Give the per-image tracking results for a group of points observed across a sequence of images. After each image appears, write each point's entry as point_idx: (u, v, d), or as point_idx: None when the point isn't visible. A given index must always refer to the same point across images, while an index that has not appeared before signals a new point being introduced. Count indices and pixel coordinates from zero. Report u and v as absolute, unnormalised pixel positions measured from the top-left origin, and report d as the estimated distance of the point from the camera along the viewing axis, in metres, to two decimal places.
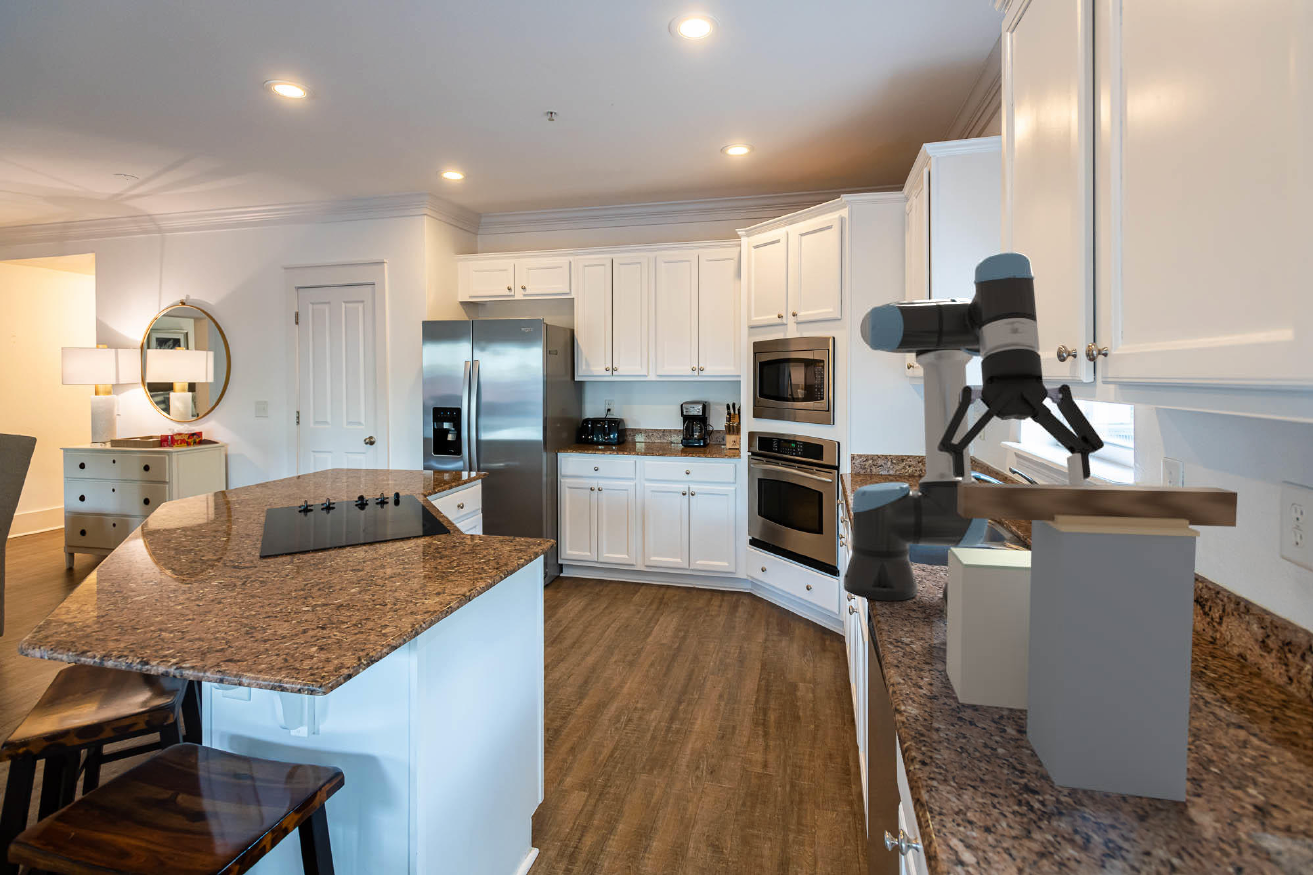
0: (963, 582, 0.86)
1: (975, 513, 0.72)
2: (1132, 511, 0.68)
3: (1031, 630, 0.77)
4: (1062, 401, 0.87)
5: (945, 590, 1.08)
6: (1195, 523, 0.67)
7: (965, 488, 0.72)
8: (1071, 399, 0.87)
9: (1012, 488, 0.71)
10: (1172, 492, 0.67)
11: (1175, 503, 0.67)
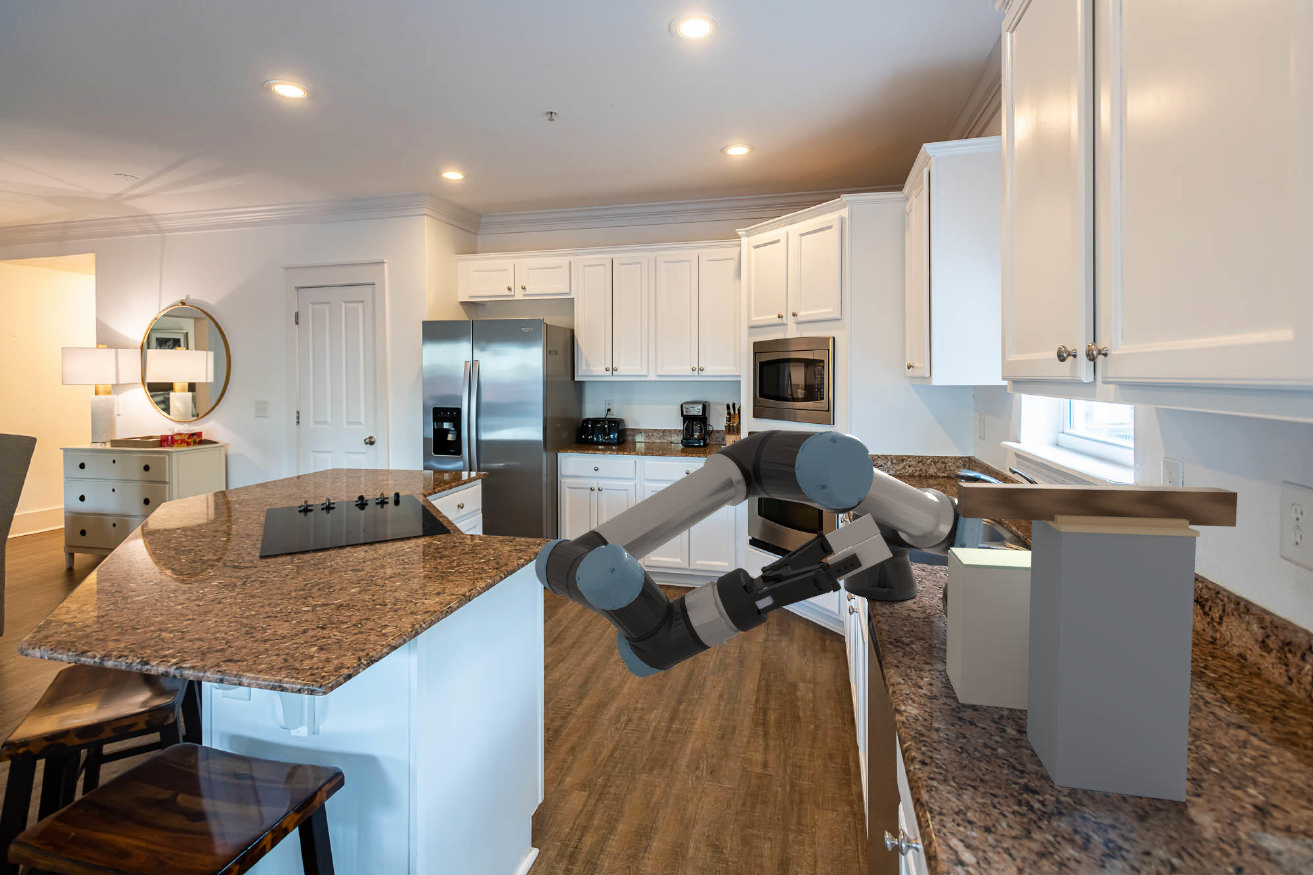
0: (963, 582, 0.86)
1: (975, 513, 0.72)
2: (1132, 511, 0.68)
3: (1031, 630, 0.77)
4: None
5: (945, 590, 1.08)
6: (1195, 523, 0.67)
7: (965, 488, 0.72)
8: (778, 607, 0.73)
9: (1012, 488, 0.71)
10: (1172, 492, 0.67)
11: (1175, 503, 0.67)
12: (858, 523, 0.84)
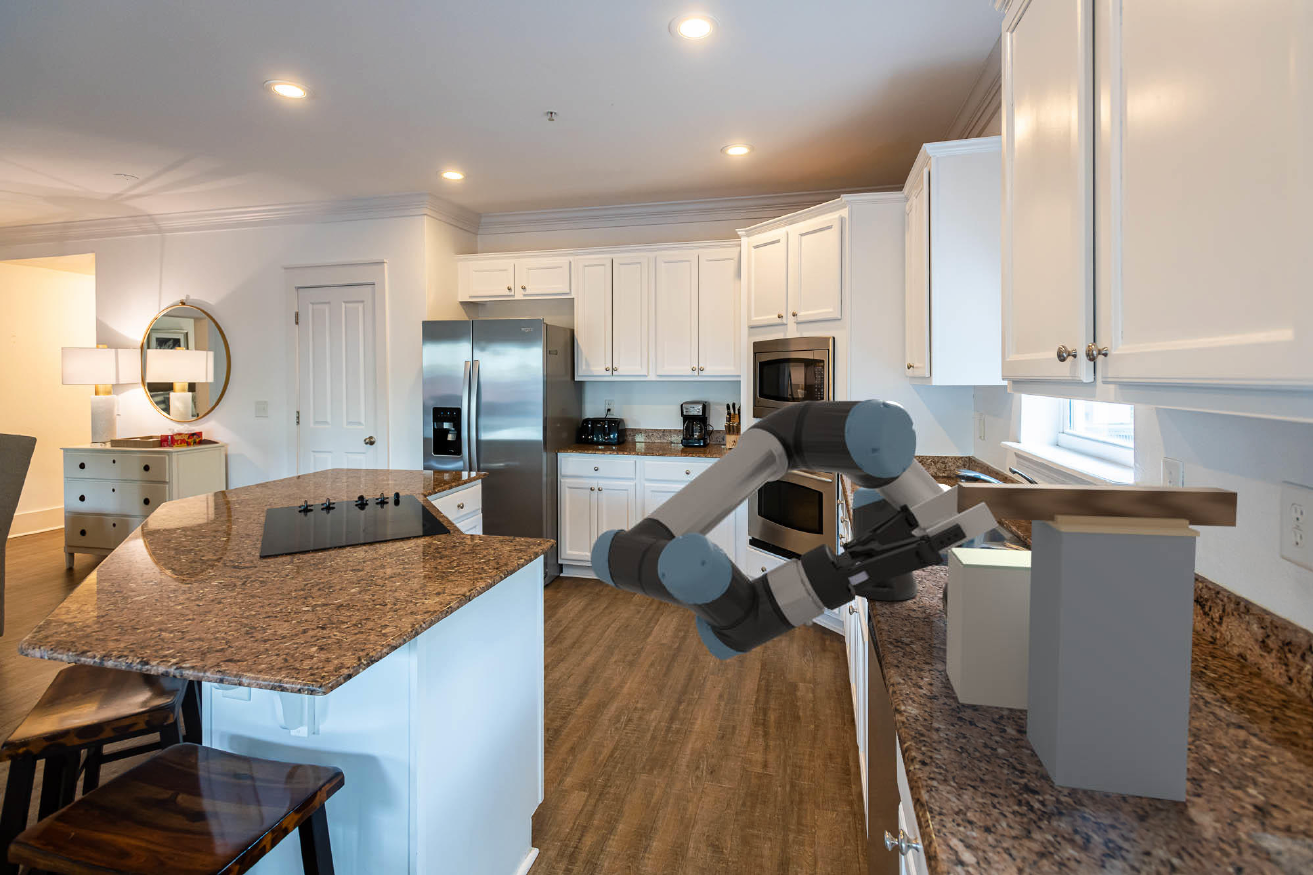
0: (963, 582, 0.86)
1: None
2: (1132, 511, 0.68)
3: (1031, 630, 0.77)
4: None
5: (945, 590, 1.08)
6: (1195, 523, 0.67)
7: (965, 488, 0.72)
8: (874, 583, 0.70)
9: (1012, 488, 0.71)
10: (1172, 492, 0.67)
11: (1175, 503, 0.67)
12: (946, 495, 0.80)
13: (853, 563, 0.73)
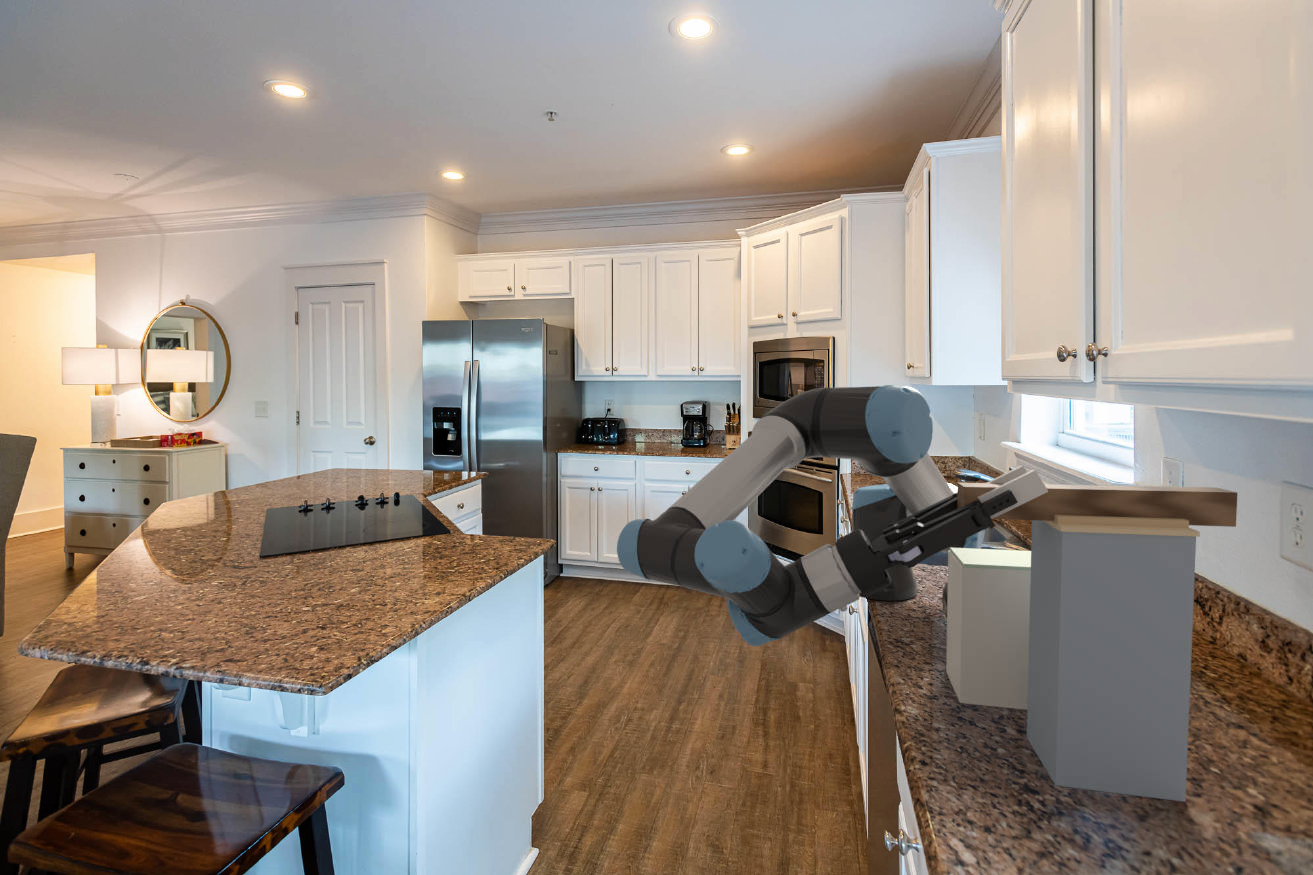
0: (963, 582, 0.86)
1: None
2: (1132, 511, 0.68)
3: (1031, 630, 0.77)
4: None
5: (945, 590, 1.08)
6: (1195, 523, 0.67)
7: (965, 488, 0.72)
8: None
9: None
10: (1172, 492, 0.67)
11: (1175, 503, 0.67)
12: (1009, 477, 0.74)
13: (894, 545, 0.73)
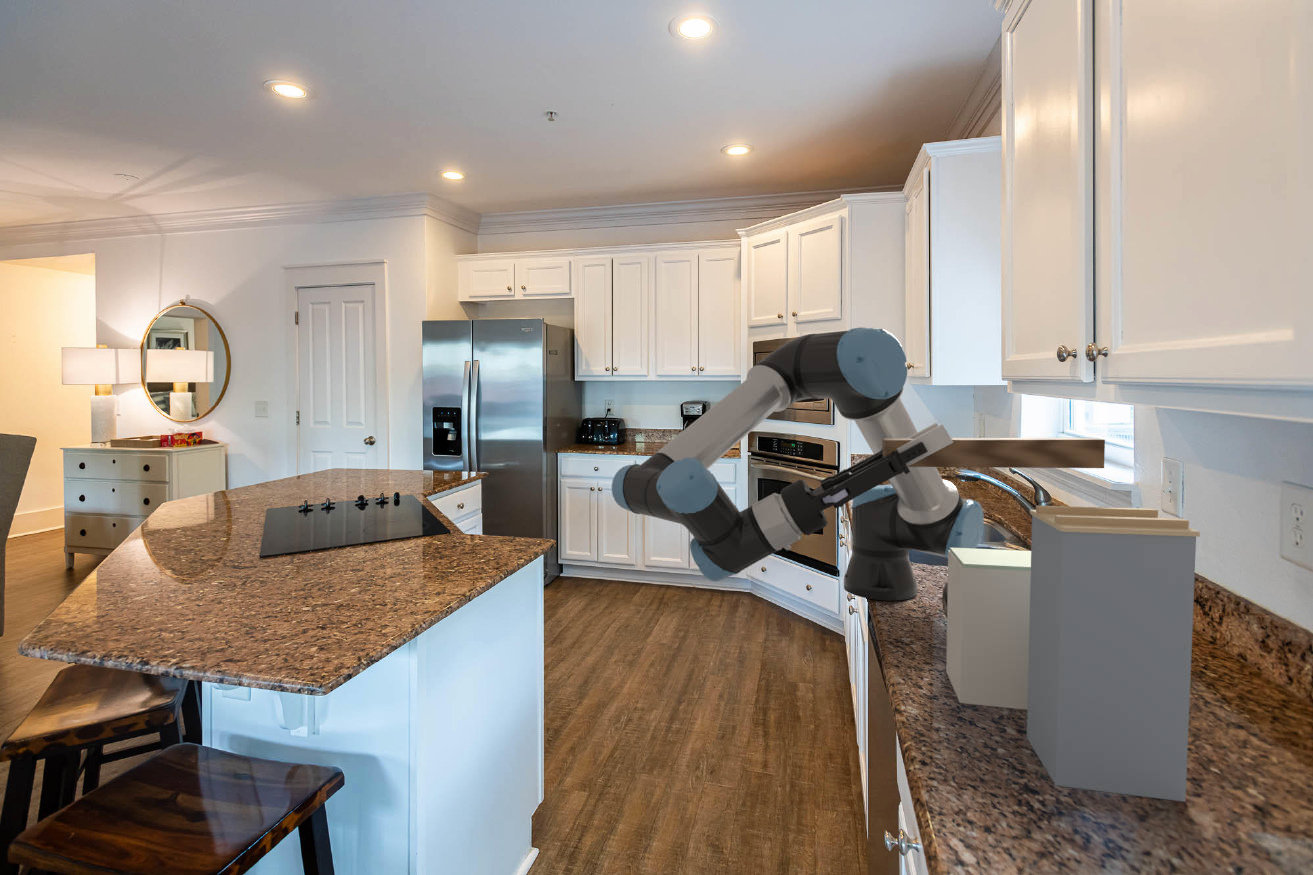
0: (963, 582, 0.86)
1: None
2: (1021, 457, 0.82)
3: (1031, 630, 0.77)
4: None
5: (945, 590, 1.08)
6: (1072, 466, 0.80)
7: (886, 441, 0.86)
8: (852, 498, 0.83)
9: None
10: (1053, 440, 0.81)
11: (1056, 450, 0.81)
12: (925, 432, 0.88)
13: (827, 490, 0.86)
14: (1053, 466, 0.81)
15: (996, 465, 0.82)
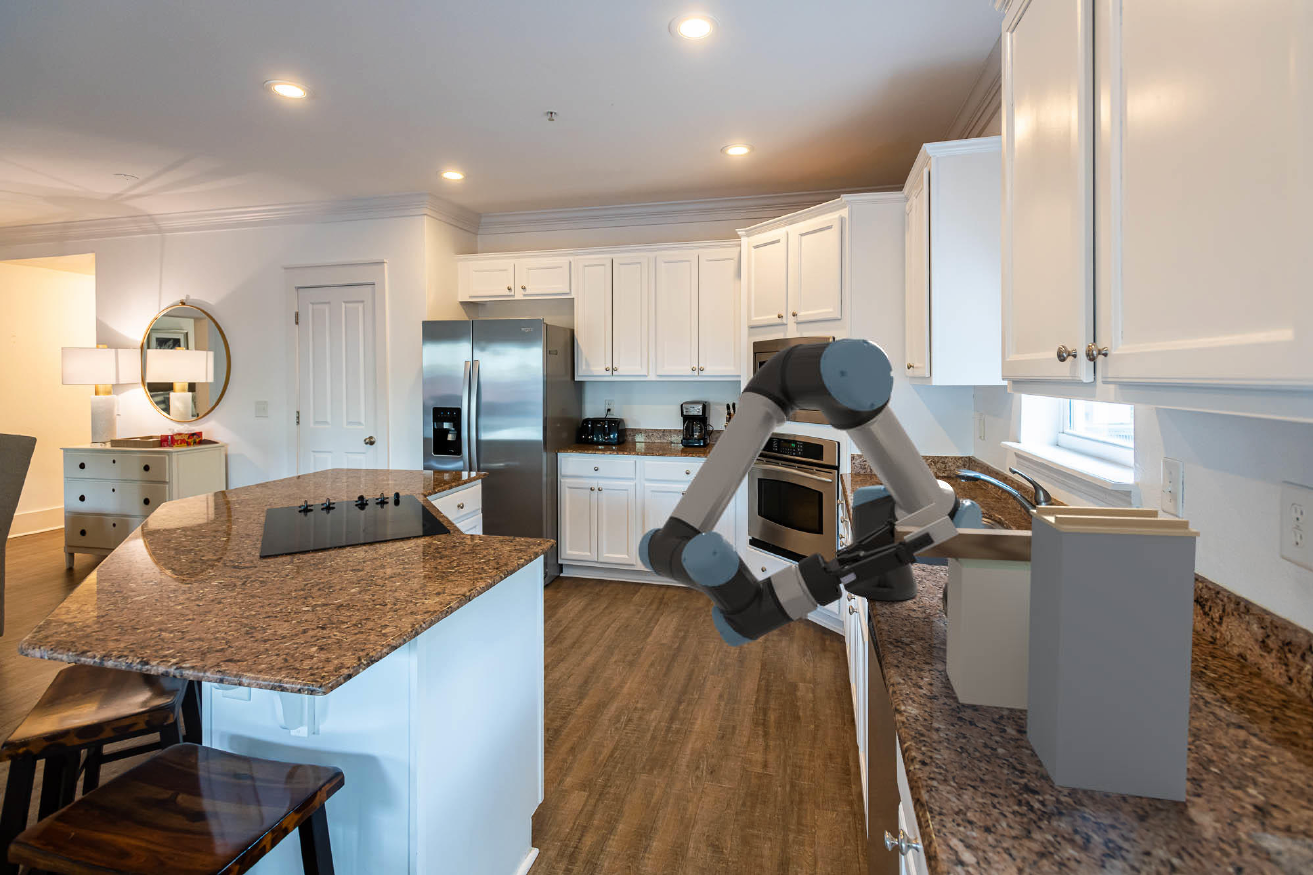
0: (963, 582, 0.86)
1: None
2: (1025, 552, 0.87)
3: (1031, 630, 0.77)
4: None
5: (945, 590, 1.08)
6: None
7: (898, 532, 0.91)
8: (860, 582, 0.88)
9: None
10: None
11: None
12: (925, 511, 0.96)
13: (841, 568, 0.91)
14: None
15: (1002, 558, 0.88)
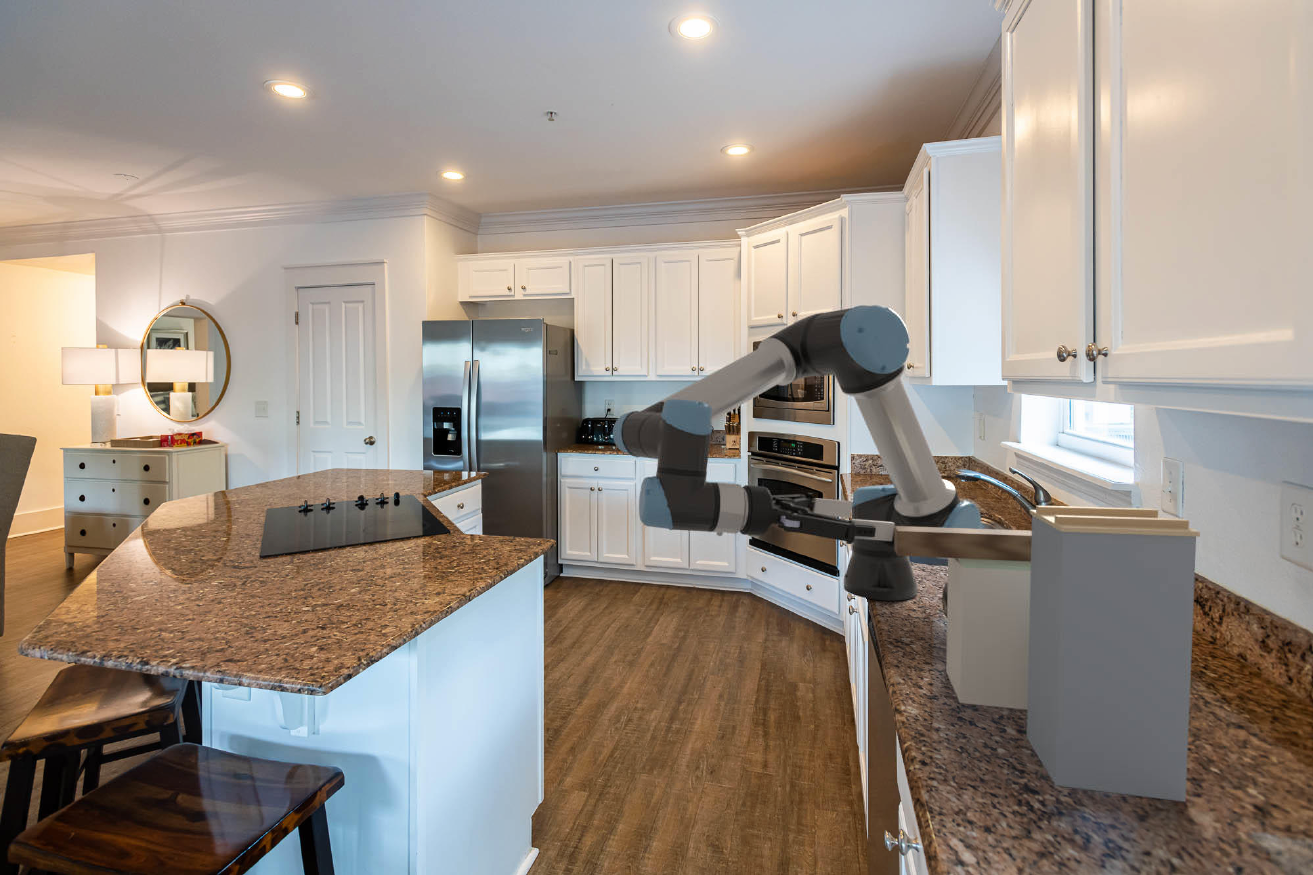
0: (963, 582, 0.86)
1: (906, 552, 0.91)
2: (1025, 552, 0.87)
3: (1031, 630, 0.77)
4: None
5: (945, 590, 1.08)
6: None
7: (898, 532, 0.91)
8: (800, 532, 0.91)
9: (934, 532, 0.90)
10: None
11: None
12: (841, 503, 1.06)
13: (787, 512, 0.93)
14: None
15: (1002, 558, 0.88)
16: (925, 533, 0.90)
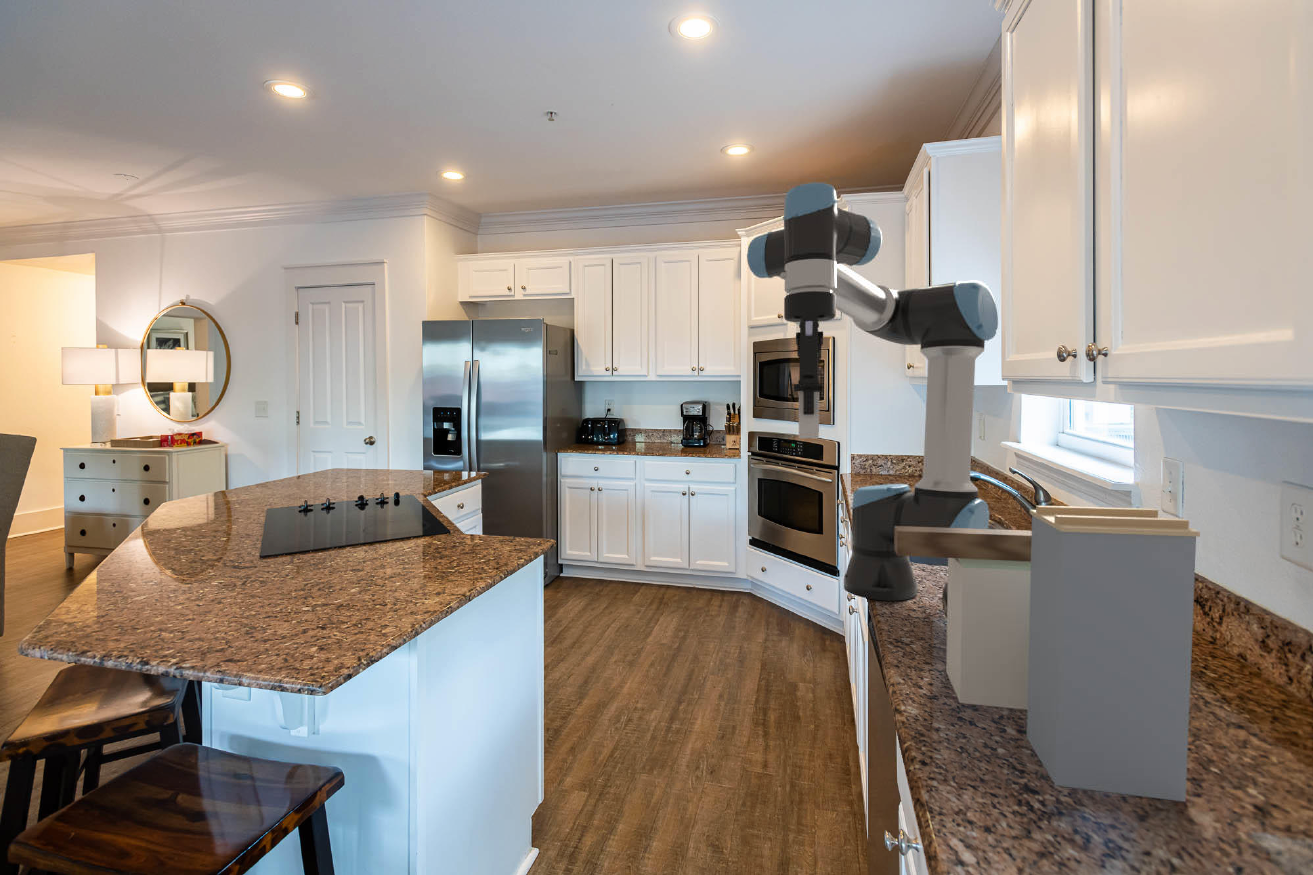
0: (963, 582, 0.86)
1: (906, 552, 0.91)
2: (1025, 552, 0.87)
3: (1031, 630, 0.77)
4: None
5: (945, 590, 1.08)
6: None
7: (898, 532, 0.91)
8: (800, 337, 0.89)
9: (934, 532, 0.90)
10: None
11: None
12: None
13: None
14: None
15: (1002, 558, 0.88)
16: (925, 533, 0.90)
